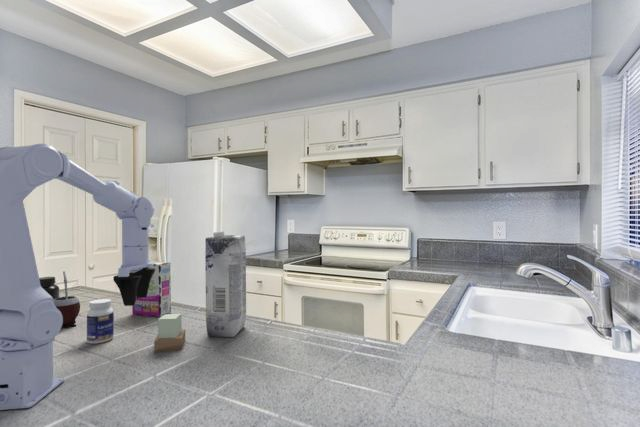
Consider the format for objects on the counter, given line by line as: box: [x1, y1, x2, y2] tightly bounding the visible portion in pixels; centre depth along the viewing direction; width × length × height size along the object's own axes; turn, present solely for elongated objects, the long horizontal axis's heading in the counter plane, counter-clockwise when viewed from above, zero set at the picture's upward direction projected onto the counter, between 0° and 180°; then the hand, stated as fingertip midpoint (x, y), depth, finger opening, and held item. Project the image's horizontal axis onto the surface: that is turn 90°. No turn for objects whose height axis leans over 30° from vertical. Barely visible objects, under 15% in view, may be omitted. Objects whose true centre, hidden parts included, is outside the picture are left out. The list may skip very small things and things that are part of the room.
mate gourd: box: [53, 271, 81, 329], centre depth 98 cm, size 8×8×15 cm
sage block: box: [157, 313, 183, 339], centre depth 82 cm, size 4×4×4 cm
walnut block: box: [153, 329, 186, 353], centre depth 82 cm, size 6×6×3 cm
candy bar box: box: [131, 261, 172, 318], centre depth 109 cm, size 11×5×16 cm, turn 73°
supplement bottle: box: [39, 276, 61, 300], centre depth 108 cm, size 7×7×12 cm
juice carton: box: [204, 230, 247, 338], centre depth 92 cm, size 9×10×27 cm
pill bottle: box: [86, 298, 115, 345], centre depth 86 cm, size 6×6×10 cm
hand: (135, 301), depth 84 cm, fingers open, 7 cm apart
